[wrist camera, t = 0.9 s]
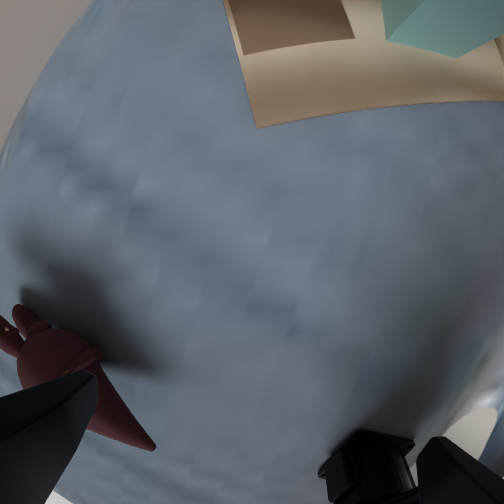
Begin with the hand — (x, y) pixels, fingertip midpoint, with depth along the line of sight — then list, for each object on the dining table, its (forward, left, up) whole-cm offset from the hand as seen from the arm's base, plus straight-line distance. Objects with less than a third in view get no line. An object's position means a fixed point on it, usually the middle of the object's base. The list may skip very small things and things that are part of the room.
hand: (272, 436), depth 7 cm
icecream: (+10, +12, -13) cm, 20 cm away
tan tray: (+1, -19, -12) cm, 23 cm away
